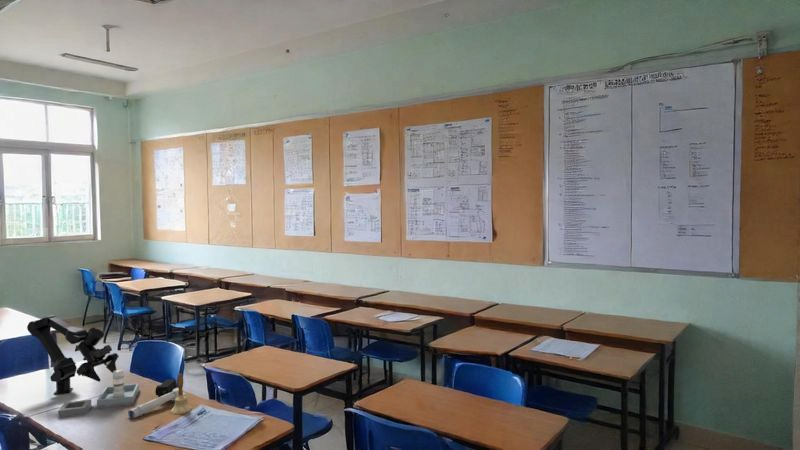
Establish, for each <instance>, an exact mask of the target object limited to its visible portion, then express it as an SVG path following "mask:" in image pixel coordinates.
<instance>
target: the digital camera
mask: <svg viewBox="0 0 800 450" xmlns="http://www.w3.org/2000/svg"><path fill="white" fill-rule="evenodd" d="M175 388H177V378H176V379H166V380H164V381H162V383H161V384H160V385H158V384H157V386H156V387H155V396H157V398H158V397H161V396H163V395H165V394H168V393H170V392H172V391H173V389H175ZM168 402H169V401H167V402H166V403H168Z"/></svg>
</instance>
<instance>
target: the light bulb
mask: <svg viewBox="0 0 800 450" xmlns="http://www.w3.org/2000/svg"><path fill="white" fill-rule="evenodd" d="M124 377H125V370H124V369H116V370H115V371H113V373H112V379H113V386H114V391H113V398H118V397H124V385H125V383H124Z"/></svg>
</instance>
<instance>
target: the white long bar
mask: <svg viewBox="0 0 800 450" xmlns="http://www.w3.org/2000/svg"><path fill="white" fill-rule="evenodd" d="M183 396H185V397H186V393H185V392H183ZM177 397H179V389H178V387H176V388H175V389H173V391H172V392H170V393H168V394H165V395H163V396H161V397H158V396H157V397H156V398H154V399H151V400H148V401H147V402H144V403H142V404H139V405H136V406H135V407H133V408H132V409H130V410H128V412H127V414H128V415H127V416H128V418H130V419H131V420H134V419H136V418H138V417H142V415H144V414H146V413H148V412H150V411H152V410H153V409H155V408H157V407H159V406H161V405H163V404H166V403H168V402H170V401H171V402H172V404H175V399H176V398H177ZM167 401H168V402H167Z"/></svg>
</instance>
